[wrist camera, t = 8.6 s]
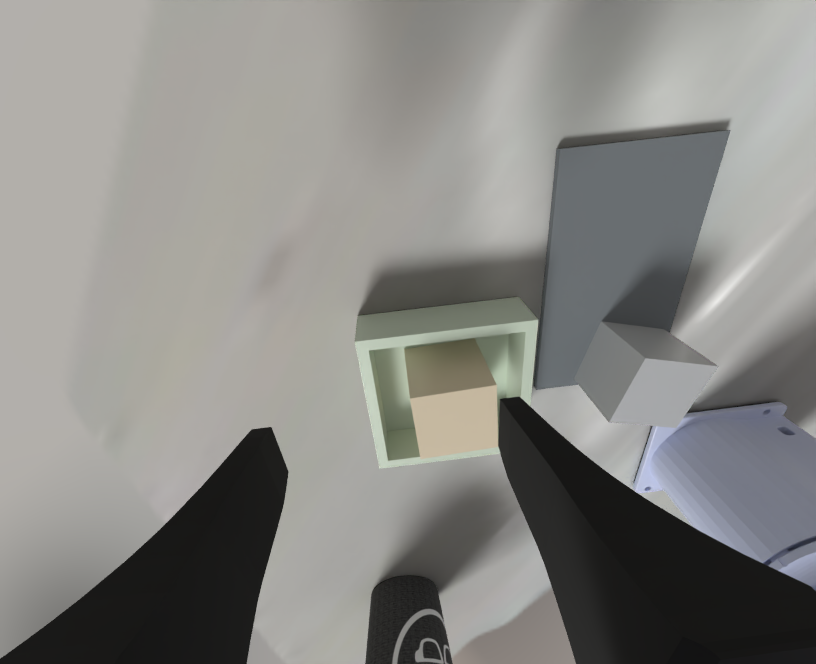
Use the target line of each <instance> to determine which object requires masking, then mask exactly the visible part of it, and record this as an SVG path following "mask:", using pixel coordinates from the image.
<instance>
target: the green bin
mask: <svg viewBox="0 0 816 664" xmlns="http://www.w3.org/2000/svg"><path fill="white" fill-rule="evenodd" d="M537 330H538V319H537V318H536V316H535V315H534V314H533V313H532V312H531V311H530V310H529V308H528V307H527V306H526V305H525V304H524V303H523V301H522V300H521V299H520V298H519V297H512V298H504V299H495V300H487V301H479V302H470V303H462V304H453V305H445V306H436V307H428V308H419V309H411V310H403V311H394V312H386V313H377V314H369V315H360V316H358V317H357V326H356V335H355V346H356V351H357V356H358V361H359V366H360V371H361V376H362V382H363V387H364V392H365V397H366V402H367V407H368V412H369V417H370V422H371V427H372V433H373V438H374V443H375V448H376V453H377V458H378V463H379V468H380V469H382V468H390V467H398V466H406V465H414V464H422V463H430V462H437V461H445V460H453V459H461V458H469V457H477V456H485V455H493V454H501V453H500V450H499V447H495V448H489V449H482V450H476V451H470V452H463V453H457V454H451V455H444V456H438V457H431V458H425V459H420V453H419V447H418V442H417V436H416V430H415V424H414V419H413V413H412V407H411V402H410V395H409V386H408V378H407V370H406V362H405V353H404V349H409V348H416V347H422V346H428V345H435V344H441V343H447V342H454V341H460V340H466V339H473V338H475V340H476V342H477V344H478V346H479V348H480V351H481V353H482V355H483V357H484V359H485V361H486V363H487V365H488V367H489V370H490V372H491V374H492V376H493V378H494V380H495V382H496V384H497V416H498V438H499V412H500V399H503V398H511V397H520V398H522V399H523V400H524V401H525V402H526V403H527V404H528V405H529V406H530V405H531V394H532V383H533V372H534V362H535V351H536V340H537Z"/></svg>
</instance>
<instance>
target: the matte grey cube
mask: <svg viewBox="0 0 816 664" xmlns="http://www.w3.org/2000/svg"><path fill="white" fill-rule="evenodd" d="M718 367H719V366H717V365H716V364H714V363H713V362H711V361H710V360H709V359H707V358H706V357H704V356H703V355H701V354H700V353H698V352H697V351H695V350H694V349H692V348H691V347H689V346H688V345H686V344H685V343H684V342H682V341H681V340H679V339H678V338H676V337H675V336H673V335H672V334H670V333H669V332H667V331H666V330H664V329H659V328H651V327H643V326H635V325H627V324H619V323H611V322H603V321H601V323H600V325H599V327H598V329H597V331H596V333H595V335H594V337H593V340H592V342H591V344H590V346H589V348H588V350H587V352H586V354H585V357H584V359H583V361H582V363H581V365H580V367H579V369H578V371H577V373H576V376H575V378H574V379H575V381H576V382H577V383H578V384H579V386H580V387H581V388H582V389H583V391H584V392H585V393H586V394H587V396H588V397H589V398H590V399H591V401H592V402H593V403H594V404H595V406H596V407H597V408H598V409H599V411H600V412H601V413H602V414H603V416H604V417H605V418H606V419H607V421H608V422H610V423H622V424H635V425H647V426H659V427H671V428H677V426H678V425H679V423H680V422H681V420H682V419H683V418H684V416H685V415H686V413H687V412H688V410H689V409H690V407H691V406H692V404H693V403H694V402H695V400H696V399H697V397H698V396H699V394H700V393H701V391H702V390H703V389H704V387H705V386H706V384H707V383H708V381H709V380H710V378H711V377H712V376H713V374H714V373H715V371H716V370H717V368H718Z"/></svg>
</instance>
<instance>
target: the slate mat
mask: <svg viewBox="0 0 816 664" xmlns="http://www.w3.org/2000/svg"><path fill="white" fill-rule="evenodd" d="M729 133H730V130H722V131H713V132H704V133H695V134H686V135H677V136H667V137H658V138H649V139H640V140H631V141H622V142H613V143H604V144H595V145H586V146H577V147H568V148H559V149H557V150H556V161H555V171H554V182H553V192H552V202H551V213H550V223H549V234H548V244H547V254H546V265H545V275H544V286H543V296H542V306H541V317H540V327H539V338H538V348H537V358H536V369H535V379H534V387H535V389H536V390H538V389H546V388H554V387H562V386H570V385H578V383H577V382H576V381H575V379H574V378H575V376H576V373H577V371H578V369H579V367H580V365H581V363H582V361H583V359H584V357H585V354H586V352H587V350H588V348H589V346H590V344H591V342H592V340H593V337H594V335H595V333H596V331H597V329H598V327H599V325H600V323H601V321H603V322H611V323H619V324H627V325H635V326H643V327H651V328H659V329H664V330H666V331H667V332H669V333H670V329H671V326H672V323H673V319H674V316H675V313H676V309H677V306H678V303H679V299H680V296H681V293H682V289H683V286H684V283H685V280H686V276H687V273H688V270H689V266H690V263H691V260H692V256H693V253H694V250H695V246H696V243H697V240H698V236H699V233H700V230H701V226H702V223H703V220H704V216H705V213H706V210H707V206H708V203H709V200H710V197H711V193H712V190H713V187H714V183H715V180H716V177H717V173H718V170H719V167H720V163H721V160H722V157H723V153H724V150H725V147H726V143H727V140H728V137H729Z"/></svg>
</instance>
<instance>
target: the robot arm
mask: <svg viewBox="0 0 816 664" xmlns="http://www.w3.org/2000/svg"><path fill="white" fill-rule="evenodd" d="M786 410H787V406H786V405H785V404H783V403H782V402H773V403H766V404H758V405H750V406H742V407H734V408H726V409H718V410H710V411H702V412H694V413H686V415H685V416H684V418H683V419H682V420H681V422H680V423H679V425H678V426H677V428H671V427H659V426H652V430H651V433H650V436H649V439H648V442H647V445H646V448H645V451H644V454H643V457H642V461H641V464H640V467H639V470H638V473H637V476H636V479H635V482H634V485H633V489H634V490H635V491H636V492H637V493H636V492H635V491H633V490H632V489H630V488H629V487H627V486H626V485H624V484H623V483H621V482H620V481H619V480H617V479H616V478H614V477H613V476H611V475H610V474H609V473H607V472H606V471H605V470H603V469H602V468H601V467H599V466H598V465H597V464H596V463H594V462H593V461H592V460H591V459H589V458H588V457H587V456H585V455H584V454H583V453H582V452H581V451H579V450H578V449H577V448H576V447H575V446H573V445H572V444H571V443H570V442H569V441H568V440H566V439H565V438H564V437H563V436H562V435H561V434H559V433H558V432H557V431H556V430H555V429H554V428H553V427H552V426H550V425H549V424H548V423H547V422H546V421H545V420H544V419H543V418H542V417H541V416H540V415H539V414H538V413H536V412H535V411H534V410H533V409H532V408H531V407H530V406H529V405H528V404H527V403H526V402H525V401H524V400H523V399H522V398H520V397H511V398H503V399H500V412H499V438H498V447H499V450H500V453H501V457H502V460H503V464H504V467H505V470H506V473H507V476H508V479H509V481H510V484H511V486H512V488H513V491H514V493H515V495H516V498H517V500H518V502H519V505H520V507H521V509H522V511H523V514H524V516H525V518H526V521H527V523H528V525H529V528H530V530H531V532H532V535H533V537H534V539H535V541H536V544H537V546H538V549H539V551H540V554H541V556H542V559H543V562H544V564H545V567H546V570H547V573H548V576H549V579H550V582H551V585H552V588H553V591H554V594H555V597H556V600H557V603H558V607H559V609H560V613H561V616H562V619H563V622H564V625H565V629H566V632H567V635H568V638H569V641H570V645H571V648H572V651H573V655H574V658H575V661H576V664H816V438H814V437H813V436H811V435H810V434H809V433H807V432H806V431H804V430H803V429H801V428H800V427H798V426H797V425H796V424H794V423H793V422H791V421H790V420H788V419H787V418H785V417H784V416H783V415H784V413H785V411H786ZM287 478H288V470H287V467H286V464H285V462H284V459H283V456H282V454H281V451H280V449H279V446H278V443H277V441H276V438H275V435H274V433H273V430H272V428H271V427H268V428H260V429H252V430H251V431H250V432H249V433H248V434H247V435H246V437H245V438H244V439H243V440H242V441H241V442H240V443H239V445H238V446H237V447H236V448H235V449H234V450H233V452H232V453H231V454H230V455H229V456H228V457H227V459H226V460H225V461H224V462H223V463H222V464H221V465H220V467H219V468H218V469H217V470H216V471H215V472H214V473H213V474H212V476H211V477H210V478H209V479H208V480H207V481H206V482H205V483H204V485H203V486H202V487H201V488H200V489H199V490H198V491H197V492H196V493H195V494H194V495H193V496H192V497H191V498H190V499H189V500H188V501H187V502H186V504H185V505H184V506H183V507H182V508H181V509H180V510H179V511H178V512H177V513H176V514H175V515H174V516H173V517H172V518H171V519H170V520H169V521H168V522H167V523H166V524H165V525H164V526H163V527H162V528H161V529H160V530H159V531H158V532H157V533H156V534H155V535H154V536H153V537H152V538H151V539H149V540H148V541H147V542H146V543H145V544H144V545H143V546H142V547H141V548H140V549H138V550H137V551H136V552H135V553H134V554H133V555H132V556H131V557H130V558H128V559H127V560H126V561H125V562H124V563H123V564H122V565H120V566H119V567H118V568H117V569H116V570H114V571H113V572H112V573H111V574H110V575H108V576H107V577H106V578H105V579H104V580H102V581H101V582H100V583H99V584H98V585H96V586H95V587H94V588H93V589H92V590H90V591H89V592H88V593H87V594H86V595H84V596H83V597H82V598H81V599H80V600H78V601H77V602H76V603H74V604H73V605H72V606H71V607H69V608H68V609H67V610H65V611H64V612H63V613H62V614H60V615H59V616H58V617H56V618H55V619H54V620H53V621H51V622H50V623H49V624H47V625H46V626H45V627H44V628H42V629H40V630H39V631H38V632H37V633H35V634H34V635H32V636H31V637H30V638H29V639H27V640H26V641H24V642H23V643H22V644H20V645H19V646H17V647H16V648H15V649H13V650H12V651H11V652H9V653H8V654H7V655H5V656H4V657H2V658H1V659H0V664H247V657H248V651H249V645H250V639H251V634H252V629H253V623H254V618H255V613H256V607H257V602H258V597H259V593H260V589H261V585H262V581H263V577H264V574H265V570H266V567H267V563H268V560H269V556H270V552H271V549H272V545H273V542H274V538H275V534H276V531H277V527H278V524H279V520H280V516H281V512H282V509H283V505H284V499H285V493H286V486H287ZM661 490H664V491H665V492H666V494H667V495H668V496H669V497H670V499H671V500H672V501H673V502H674V504H675V505H676V506H677V507H678V508H679V510H680V511H681V512H682V513H683V515H684V516H685V517H686V518H687V520H688V521H689V522H690V523H691V525H692V526H693V527H692V526H690V525H688V524H687V523H685V522H683V521H682V520H680V519H678V518H677V517H675V516H673V515H672V514H670V513H668V512H667V511H665V510H663V509H661V508H660V507H658V506H656V505H655V504H653V503H652V502H650V501H648V500H647V499H645V498H644V497H642V496H641V495H639V494H638V493H645V492H653V491H661Z"/></svg>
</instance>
